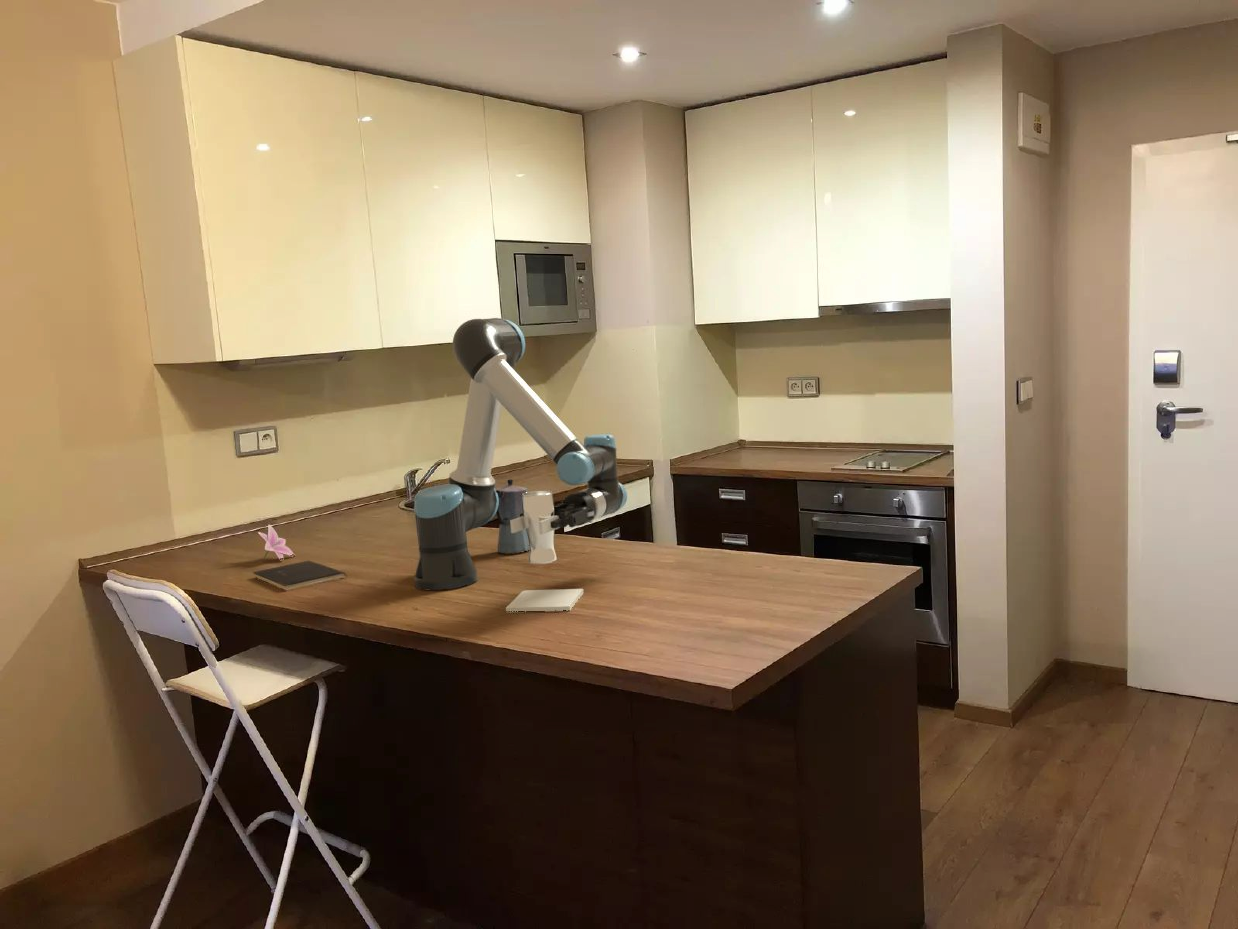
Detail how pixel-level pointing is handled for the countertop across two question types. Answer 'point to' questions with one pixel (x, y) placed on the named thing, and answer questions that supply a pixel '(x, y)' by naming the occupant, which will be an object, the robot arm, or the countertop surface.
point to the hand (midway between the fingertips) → (526, 527)
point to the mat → (545, 600)
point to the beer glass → (536, 510)
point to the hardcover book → (299, 574)
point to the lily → (275, 543)
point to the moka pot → (508, 511)
